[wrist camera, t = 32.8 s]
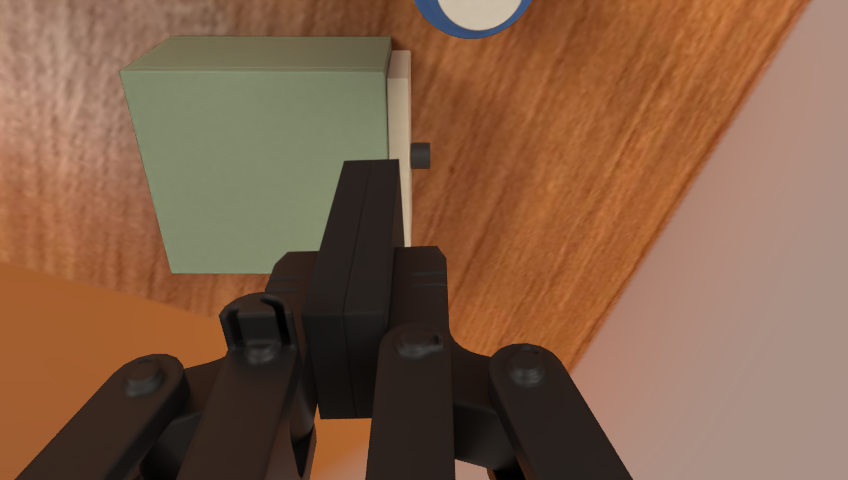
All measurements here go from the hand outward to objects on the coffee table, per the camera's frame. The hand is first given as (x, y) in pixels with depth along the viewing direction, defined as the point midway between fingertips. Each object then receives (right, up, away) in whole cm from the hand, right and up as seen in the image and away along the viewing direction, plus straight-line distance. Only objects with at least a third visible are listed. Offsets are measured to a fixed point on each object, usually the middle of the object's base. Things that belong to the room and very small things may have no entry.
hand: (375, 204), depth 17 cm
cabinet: (-7, +6, +24) cm, 26 cm away
